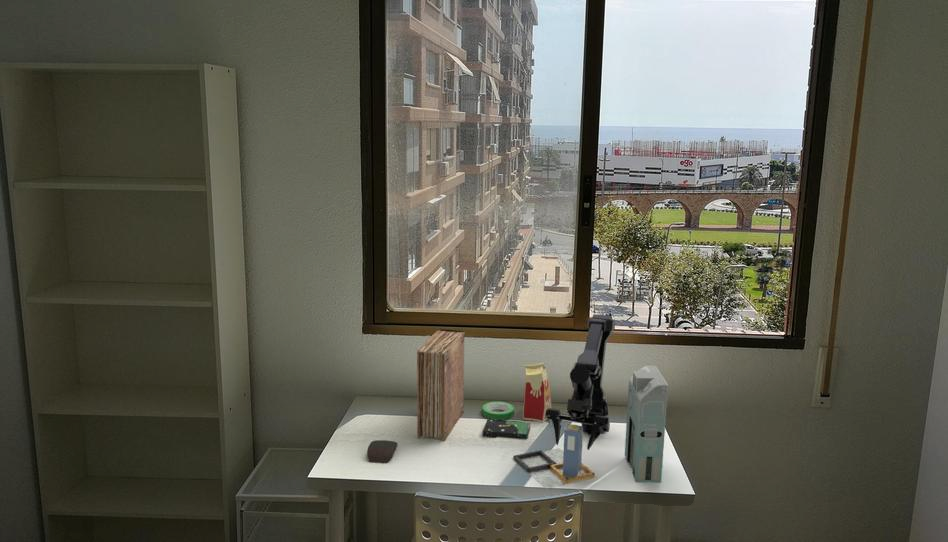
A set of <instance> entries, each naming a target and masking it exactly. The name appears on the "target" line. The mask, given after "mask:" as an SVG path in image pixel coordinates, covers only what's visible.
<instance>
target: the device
mask: <svg viewBox="0 0 948 542" xmlns="http://www.w3.org/2000/svg"><path fill="white" fill-rule="evenodd" d="M668 391H669V384H668V382H667V381H666V380H665V378H664V377H663V375H662V374H661V372H660V370H659V368H657V366H656V365H645V366H643V367H641V368H640V369H639V370H638V371H633V373H632V376H631V377H630V378H629V380H628V391H627V392H628V393H627V411H626V422H625V423H626V424H625V425H626V426H625V441H624V442H625V443H624V457H625V459H626V461H627V463H628V464H629V466H630V469H631V468H632V469H631V474H632V476H633V479H634V481H635V482H636V483H662V476H663V475H662V474H663V465H664V464H663V460H664V448H665V445H664V444H665V435H666V434H665V433H666V420H667V419H666V418H667V407H668V406H667V404H668Z"/></svg>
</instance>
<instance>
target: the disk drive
mask: <svg viewBox="0 0 948 542" xmlns="http://www.w3.org/2000/svg"><path fill="white" fill-rule="evenodd" d="M530 429H531V422H526V421H518V420H510V419H506V420H497V419H488V418H486V422H485V424H484V428H483V429H482V437H483V438H492V439H493V438H495V439H497V438H509V439H519V440H520V439H521V440H522V439H523V440H527V439H528V437H529V433H530V431H531V430H530Z"/></svg>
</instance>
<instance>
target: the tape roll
mask: <svg viewBox="0 0 948 542" xmlns="http://www.w3.org/2000/svg"><path fill="white" fill-rule="evenodd" d="M494 410H495V411H494ZM499 410H500V411H499ZM498 411H499V412H498ZM482 415H483V417H484V418H486V419H497V420H505V419H506V420H510V419H512V418H513V417H514V416H515V408H514V405H513V404H511V403H507V402H505V401H504V402H503V401H490V402H487V403H485V404H484V405H482ZM513 415H514V416H513ZM511 417H512V418H511ZM509 418H510V419H509Z"/></svg>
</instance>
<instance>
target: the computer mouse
mask: <svg viewBox="0 0 948 542" xmlns="http://www.w3.org/2000/svg"><path fill="white" fill-rule="evenodd" d="M397 447H398V442H396V441H394V440H387V439H386V440H383V439H379V440H372V441H371V442H370V443H369V445H368V447H367V450H366V453H367V454H366V455H367V459H368V462H369V463H370V462H371V463H374V464H388V463H390V461H391V460H392V458H393V456H394V455H395V453H396V450H397ZM394 452H395V453H394ZM371 463H370V464H371Z"/></svg>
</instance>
